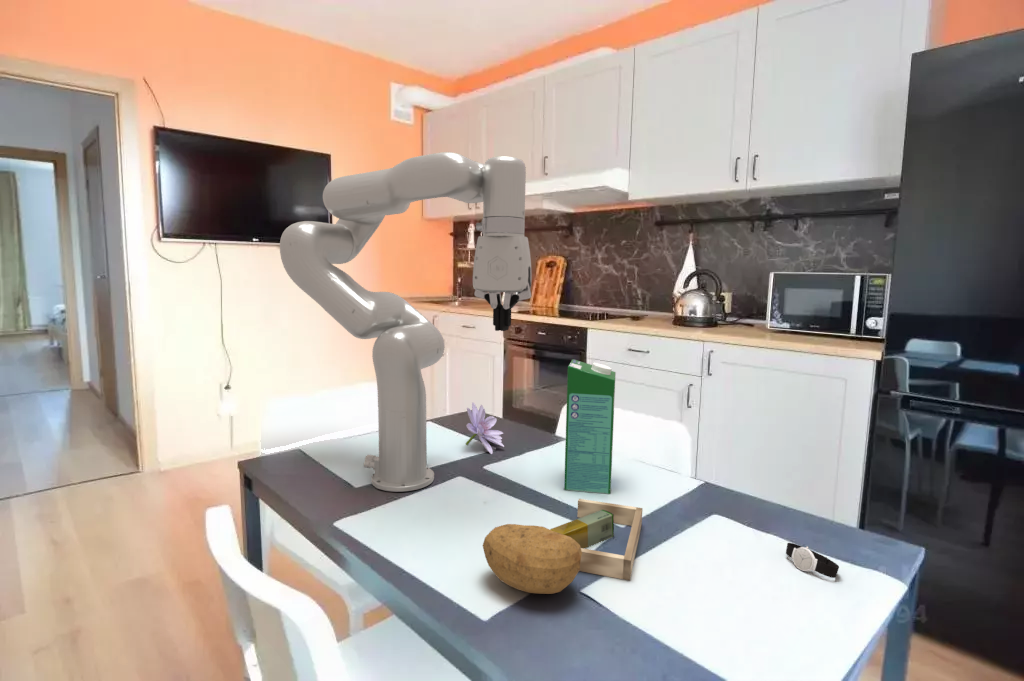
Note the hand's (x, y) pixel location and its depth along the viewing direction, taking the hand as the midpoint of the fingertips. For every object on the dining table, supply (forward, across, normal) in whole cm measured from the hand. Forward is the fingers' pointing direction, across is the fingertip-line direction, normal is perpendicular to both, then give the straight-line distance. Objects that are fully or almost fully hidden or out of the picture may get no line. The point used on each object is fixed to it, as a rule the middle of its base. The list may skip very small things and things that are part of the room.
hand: (501, 330), depth 100 cm
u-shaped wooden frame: (+32, +21, -12) cm, 40 cm away
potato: (+32, +14, -27) cm, 44 cm away
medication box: (+32, +19, -13) cm, 40 cm away
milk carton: (+32, +15, +12) cm, 38 cm away
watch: (+32, +52, -8) cm, 62 cm away
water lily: (+32, -13, +26) cm, 43 cm away
